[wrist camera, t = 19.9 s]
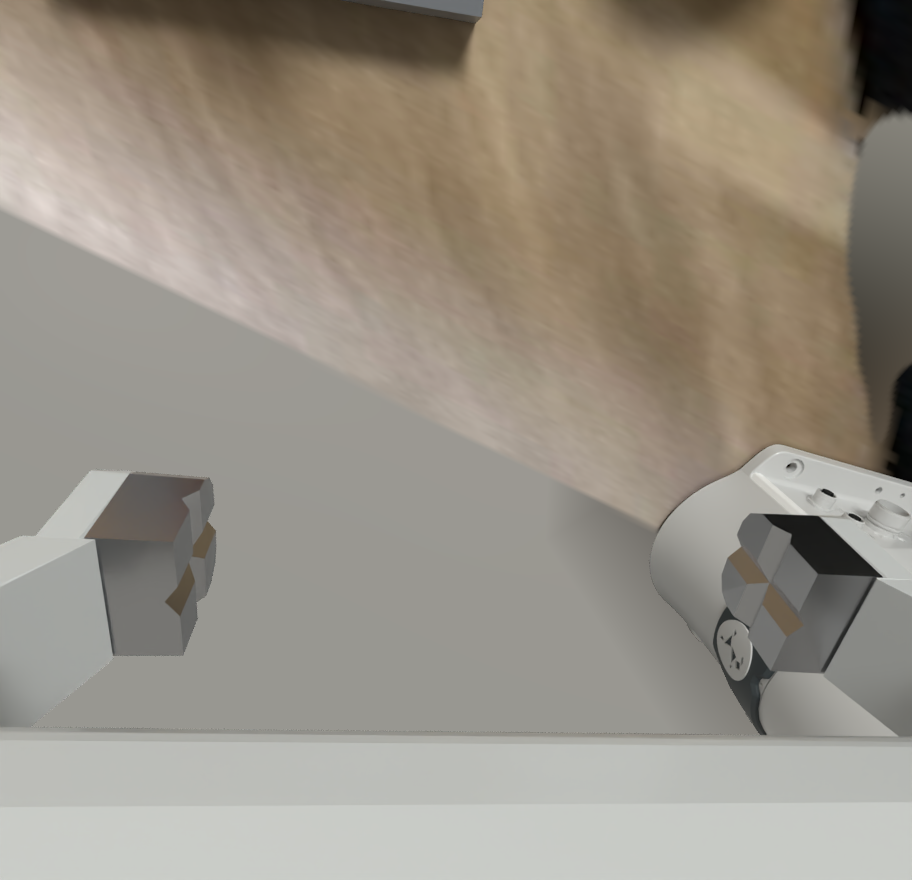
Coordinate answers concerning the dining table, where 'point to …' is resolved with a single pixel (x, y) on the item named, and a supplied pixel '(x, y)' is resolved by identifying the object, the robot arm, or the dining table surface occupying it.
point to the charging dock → (433, 7)
